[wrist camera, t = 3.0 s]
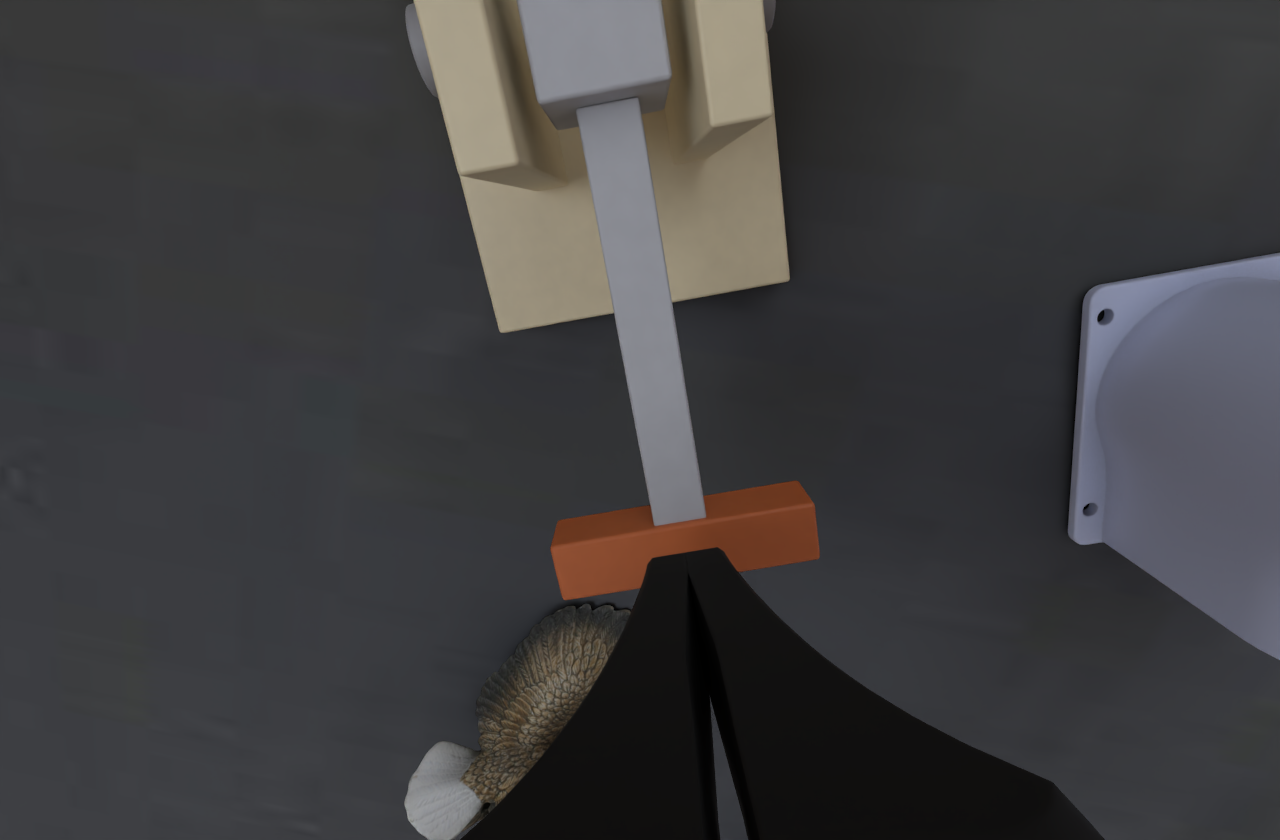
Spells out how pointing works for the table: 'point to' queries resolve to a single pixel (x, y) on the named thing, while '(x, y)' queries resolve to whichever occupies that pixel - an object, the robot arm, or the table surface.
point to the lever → (643, 309)
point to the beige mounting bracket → (556, 169)
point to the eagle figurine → (514, 720)
